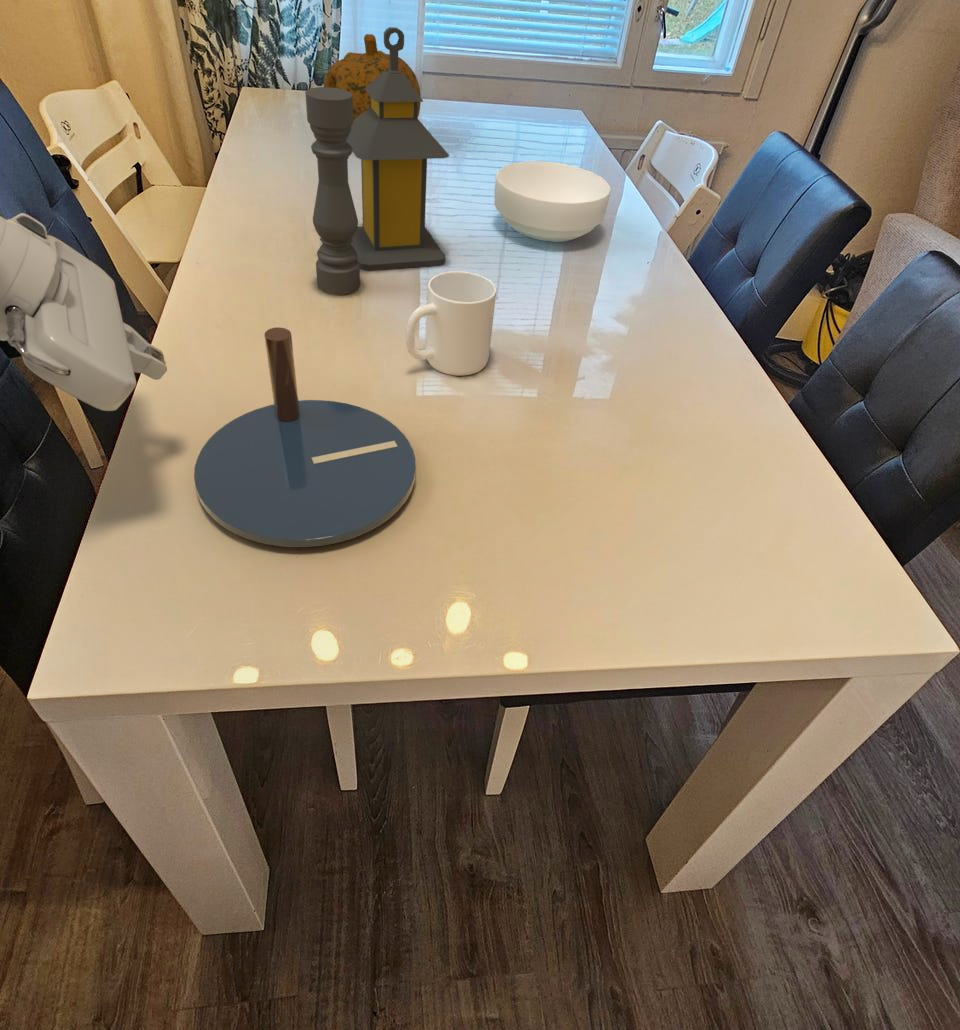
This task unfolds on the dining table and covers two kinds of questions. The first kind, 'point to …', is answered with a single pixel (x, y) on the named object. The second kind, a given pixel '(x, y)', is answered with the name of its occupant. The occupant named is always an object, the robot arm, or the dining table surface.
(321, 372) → the dining table surface
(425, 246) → the lantern
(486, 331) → the cup
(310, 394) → the dining table surface
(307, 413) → the blue disc with peg
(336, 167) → the candle holder
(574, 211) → the bowl
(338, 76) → the decorative pumpkin
